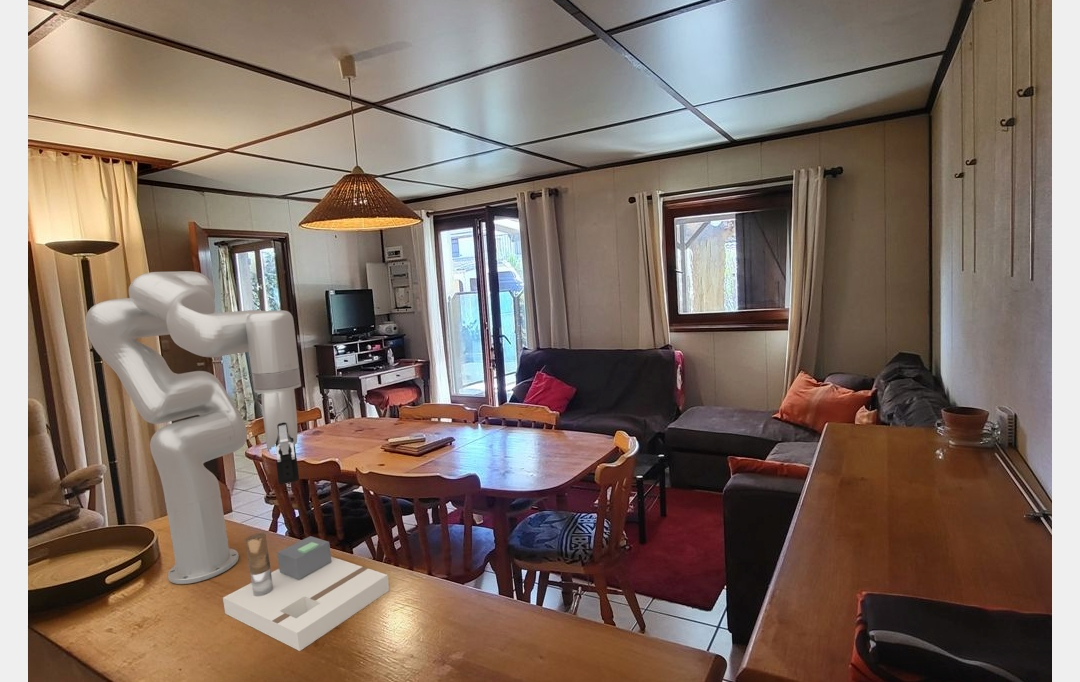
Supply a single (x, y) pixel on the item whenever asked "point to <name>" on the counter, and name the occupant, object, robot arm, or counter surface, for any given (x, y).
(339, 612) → the white flat rectangular board
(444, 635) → the counter surface
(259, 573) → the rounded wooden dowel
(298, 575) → the block
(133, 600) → the counter surface
